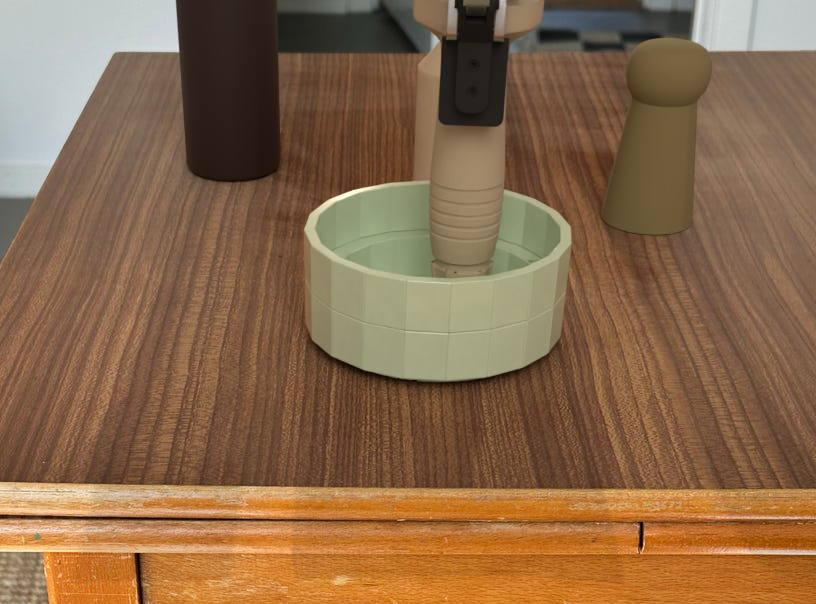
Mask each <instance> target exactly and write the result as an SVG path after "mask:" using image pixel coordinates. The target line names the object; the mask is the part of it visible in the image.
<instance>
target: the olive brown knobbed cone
mask: <svg viewBox="0 0 816 604" xmlns="http://www.w3.org/2000/svg"><path fill="white" fill-rule="evenodd" d="M625 69H626V70H625V78H626V79H625V80H626V87H627V90H628V92H629V93H630V95H631V97H630V101H629V105H628V109H627V112H626V113H627V114H626V117H625V120H624V123H623V128H622V131H621V135H620V139H619V142H618V146H617V149H616V153H615V158H614V161H613V165H612V169H611V173H610V176H609V179H608V183H607V187H606V191H605V195H604V199H603V203H602V206H601V210H600V219H602V221H603V222H604V223H606V224H607V225H608V226H610V227H612V228H614V229H617V230H620V231H623V232H627V233H632V234H638V235H647V236H649V235H651V236H660V235H672V234H676V233H681V232H683V231H685V230H686V229H688V228H690V227H691V225H692V224H693V220H694V195H695V193H694V192H695V174H696V173H695V171H696V148H697V147H696V145H697V122H698V100H699V99H700V98H701V97H702V96H703V95H704V94H705V92H706V91H707V89H708V86H709V85H710V82H711V79H712V72H713V62H712V59H711V56H710V54H709V51H708V49H707V48H706V47H704V45H702V44H700V43H698V42H695V41H693V40H689V39H684V38H677V37H660V38H659V37H658V38H651V39H647V40H645V41H642V42H641V43H639V44H638V45H637V46H636V47H635V48H634V49H633V50H632V51H631V53H630V55H629V57H628V60H627V62H626V68H625Z"/></svg>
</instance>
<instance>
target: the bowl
mask: <svg viewBox="0 0 816 604" xmlns="http://www.w3.org/2000/svg"><path fill="white" fill-rule="evenodd" d="M429 185H430V181H413V180H411V181H398V182H388V183H387V182H386V183H382V184H377V185H372V186H367V187H361V188H357V189H352V190H349V191H347V192H345V193H342V194H340V195H337V196H334V197H331V198H329V199H327V200H326V201H324V202H323V203H322V204H320V205H319V206H317V207H316V208H315V209H314V210H312V211H311V212H310V213H309V215H308V217H307V221H306V222H305V225H304V228H303V267H304V268H303V271H304V272H303V275H304V323H305V326H306V328H307V332H308V333H309V336H310V338H311V340H312V342H313V343H315V344H316V345H317V346H318V347H319V348H321V349H322V350H323V351H324V352H325V353H326V354H328V355H329V356H330V357H332V358H335V359H337V360H339V361H341V362H344V363H346V364H348V365H351V366H353V367H355V368H358V369H360V370H362V371H365V372H368V373H369V372H370V373H374V374H376V375H377V374H378V375H380V376H384V377H389V378H393V379H398V378H399V379H398V380H405V379H406V380H405V381H412V380H417V381H416V382H423V383H455V382H465V381H466V382H467V381H474V380H481V379H484V378H485V379H486V378H490V377H494V376H498V375H501V374H505V373H509V372H513V371H517V370H521V369H522V368H525V367H527V366H529V365H531V364H532V363H534V362H536V361H538V360H540V359H541V358H543V357H545V356H547V354H549V353H550V352H551V350H552V349H553V348H554V346H555V345H556V344H557V342H558V341H559V339H560V338H561V336H562V329H563V321H564V313H565V303H566V295H567V286H568V278H569V271H570V262H571V254H572V246H573V245H572V244H573V240H572V239H573V237H572V227H571V225H570V223H568V221H567V220H566V219H565V218H564V217H563V216H562V214H560V212H559V211H558V210H556V209H554V208H552V207H550V206H549V205H547V204H545V203H543V202H541V201H539V200H538V199H536V198H533V197H531V196H527V195H524V194H521V193H518V192H514V191H511V190H509V189H506V188H504V193H503V196H504V198H503V206H502V216H501V222H500V228H499V234H498V239H497V244H496V247H495V251H494V255H493V257H492V258H491V259H490V260H493V269H492V274H491V275H489V276H476V277H463V278H432V273H431V261H434V260H435V257H434V256H433V254H432V250H431V243H430V230H429V227H430V226H429V192H430V191H429Z"/></svg>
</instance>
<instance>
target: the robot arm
mask: <svg viewBox="0 0 816 604" xmlns="http://www.w3.org/2000/svg"><path fill="white" fill-rule="evenodd" d="M506 8H507V0H448V17H447V35H446V36H442V47H441V68H440V90H439V111H438V119H439V121H440V122H441V123H442V124H443V125H457V126H484V127H497V126H499V125H501V124H502V122H503V117H504V104H505V91H506V78H507V79H508V66H509V65H508V64H509V58H508V52H509V38H504V35H505V21H506ZM494 14H495V24H494ZM493 25H494V26H493ZM493 33H494V38H493ZM509 53H510V52H509Z"/></svg>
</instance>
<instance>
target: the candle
mask: <svg viewBox="0 0 816 604" xmlns="http://www.w3.org/2000/svg"><path fill="white" fill-rule="evenodd" d="M440 68H441V42H440V41H438V42H437V43H436V44H435V45H434V47H433V48H432V49H431V50H430V51H429V52H428V53H427V54H426V55H425V56H424V57H423V58H422V60H421V61H419V63H418V65H417V77H416V78H417V79H416V100H415V101H416V103H415V104H416V105H415V126H414V127H415V128H414V148H413V149H414V151H413V176H412V178H413V179H412V181H430V179H431V178H430V171H431V162H432V153H433V143H434V134H435V125H436V116H437V105H438V94H439V82H440Z"/></svg>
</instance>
